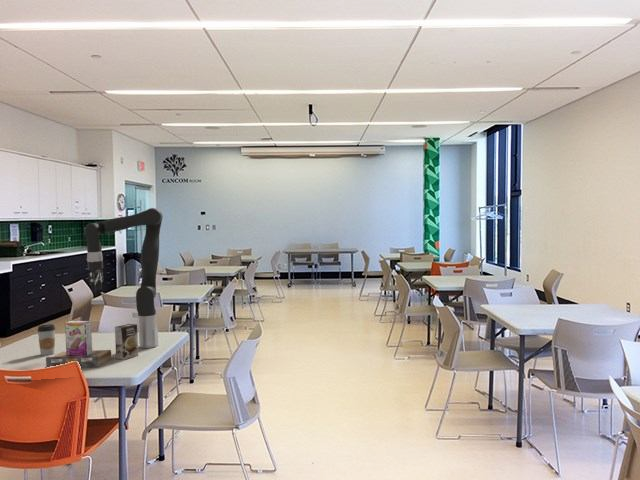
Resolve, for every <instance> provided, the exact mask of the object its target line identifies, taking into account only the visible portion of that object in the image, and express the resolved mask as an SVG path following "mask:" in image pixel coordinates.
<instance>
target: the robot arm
mask: <svg viewBox="0 0 640 480" xmlns="http://www.w3.org/2000/svg"><path fill="white" fill-rule="evenodd" d="M161 211H162V210H160V209H158V208H157V207H156V208H154V207H150V208H148V209H146V210H144V211H141V212H139V213H136V214H132V215H125V216H121V217H120V216H119V217H114V218H110V219H109V218H108V219H106V220H104V221H99V222H90V223H88V224H86V225H85V227H84V237H85V240H86V249H87V251H86V252H87V254H86V255H87V256H86V261H87V270H88V271H90V272H88V284H89V285H90V286H91V288H90V289H91V293H96V292H97V291H99V290H103V282H104V271H103V269H104V261H103V260H104V258H103V253H102V243H101V240H100V236H101V235H104V234H109V233H110V234H111V233H116V232H121V231H123V230H126V229H129V228H134V227H140V226H145V235H144V239H143V242H142V245H141V246H142V247H141V251H140V252H141V253H140V269H141V274H142V275H141V283H140V287H139V288H138V289H137V290H136V293H135V302H136V311H137V320H138V321H137V322H138V324H137V326H138V346H139V348H141V349H152V348H156V347H157V346H159V328H158V327H157V311H156V308H155V298H156V295H157V285H156V284H157V272H158V267H159V264H158V263H159V259H160V258H159V257H160V233H161V232H160V231H161V227H162V222H163V213H162V212H161Z"/></svg>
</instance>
